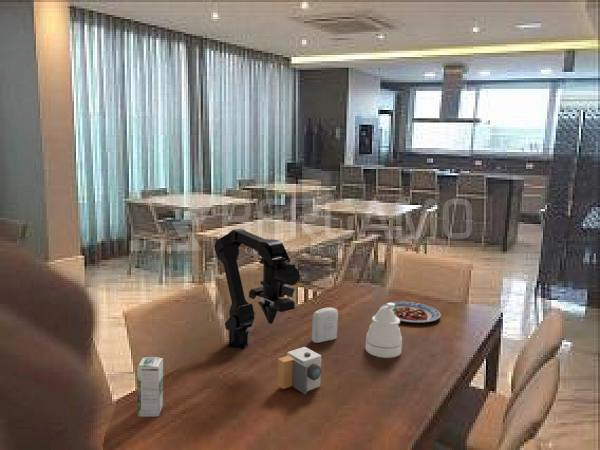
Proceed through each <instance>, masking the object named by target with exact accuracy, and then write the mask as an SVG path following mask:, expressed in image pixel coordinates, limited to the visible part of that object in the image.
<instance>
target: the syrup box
mask: <svg viewBox="0 0 600 450" xmlns="http://www.w3.org/2000/svg"><path fill="white" fill-rule="evenodd" d="M136 372H137V374H136V375H137V376H136V378H137V380H136V381H137V384H136V385H137V387H136V388H137V392H136V393H137V395H136V396H137V397H136V398H137V404H136V405H137V418H146V417H147V418H149V417H150V418H151V417H152V418H153V417H160V414H161V411H162V408H163V406H164V357H155V356H151V357H150V356H149V357H146V356H145V357H142V359H141V360H140V362H139V364H138V366H137V371H136Z"/></svg>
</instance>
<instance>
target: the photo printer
mask: <svg viewBox="0 0 600 450" xmlns="http://www.w3.org/2000/svg"><path fill="white" fill-rule="evenodd" d="M338 323H339V311H338V309H337V308H333V307H324V308H320V309H318V310H316V311H314V312H313V314H312V324H311V325H312V326H311V341H312V342H313V343H315V344H316V343H323V342H328V341H333V340H336V339H337V338H338Z"/></svg>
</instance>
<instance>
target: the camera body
mask: <svg viewBox="0 0 600 450" xmlns="http://www.w3.org/2000/svg"><path fill="white" fill-rule="evenodd" d="M288 355H289V356H291V357H292V358H294V359H296V360H298V361H299V362H301V363H303V364H305V365H306V366H308V371H307V392H309V391H311V390H314V389H317V388H319V387H321V381H322V380H321V378H322V377H321V376H322V355H321V354H319V353H317V352H316V351H313V350H312V349H310V348H308V347H306V346H303V347H300V348H296V349H293V350H290V351H287V352H286V356H288Z"/></svg>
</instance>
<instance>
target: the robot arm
mask: <svg viewBox="0 0 600 450" xmlns="http://www.w3.org/2000/svg"><path fill="white" fill-rule="evenodd" d="M241 246H245V247H248V248H251V249H252V250H254V251H256V252H257V255H258V256H259V257H260V258H261V259H260V260H259V261H258V263H259V264H262V265H263V267H262V268H263V269H262V280H260V285H262V286H260V287H256V288H255V287H254V288H251V289H250V290H249V292H248V298H250V299H252V300H255V299H256V297H259V300H260V301H259V302H257V303H258V305H259V307H260V308H261V310H262V313H264V316H265V318H266V320H267V322H268V324H269V325H272V324H273V323H274V321H275V318H276V316H277V313H278V312H279V313H283V312H286V311H288V312H289V311H291V310H295V309H296V302H295V301H294V300H293V299H290V298H293V297H294V293H295V290H296V288H294V286H295V285H296V284H298V282H299V280H300V277H301V276H300V275H301V274H300V270H299V269H298V268H297V267H296V264H295V263H291V260H290V256H289V254H288V252H287V250H286V247H285V246H284V242H282V241H281V240H279V239H272V238H270V239H269V238H263V237H260V236H259V235H256V234H253V233H251V232H249V231H247V230H245V229H244V228H236V229H232V230H231V231H229V232H228V233H227V234H225V235H223V236H221V237H220V238H218V239H217V240H216V241H215V243H214V246H213V247H214V251H215V254H216V257H217V259H218V260H219V261H220V262H221V263H222V264H223V268H224V274H225V277H226V282H227V283H226V284H227V286H228V293H229V296H230V300H231V305H230V309H229V310H228V312H229V318H228V319H227V320H226V321H225V322H224V328H225V330H227V331H228V333H229V334H228V343H227V347H230V348H240V349H241V348H242V349H245V348H246V347H247V345H249V343H250V331H249V328H252V326H253V324H254V321H255V314H256V312H255V311H254V306H253V305H254V304H253V303H249V302H248V301H247V299H246V296H245V291H244V288H243V283H242V278H241V274H240V269H239V264H238V258H239V254H240V247H241ZM292 286H293V287H292ZM285 296H286V297H285ZM288 297H289V298H288Z"/></svg>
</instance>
